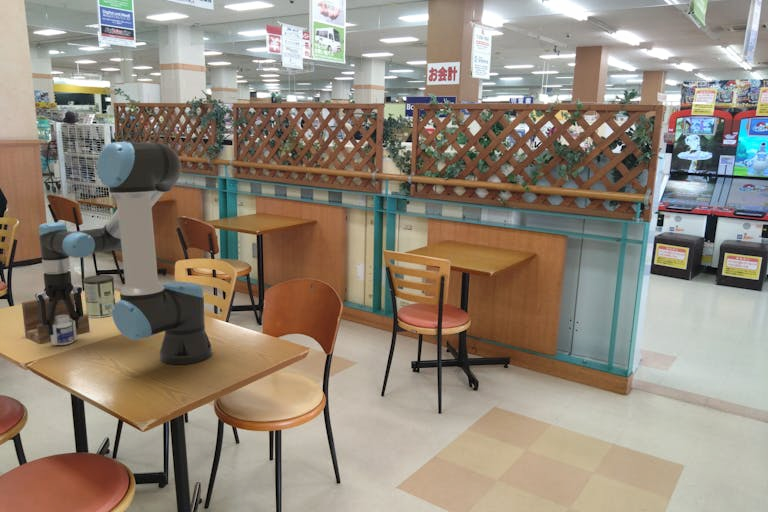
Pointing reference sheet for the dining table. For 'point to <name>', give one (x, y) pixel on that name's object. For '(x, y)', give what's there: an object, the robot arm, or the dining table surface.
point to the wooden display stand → (31, 316)
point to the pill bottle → (64, 330)
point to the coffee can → (99, 295)
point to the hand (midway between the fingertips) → (64, 341)
